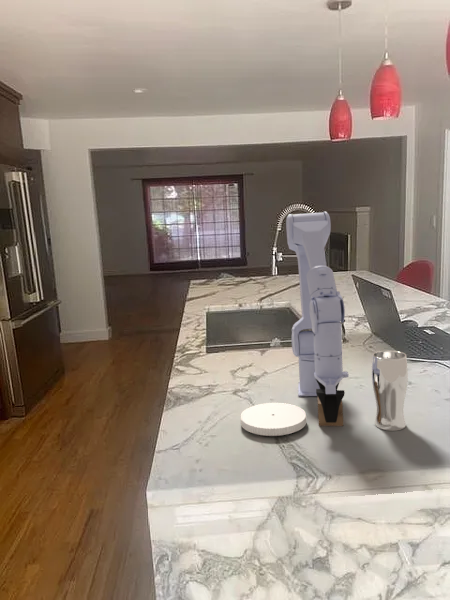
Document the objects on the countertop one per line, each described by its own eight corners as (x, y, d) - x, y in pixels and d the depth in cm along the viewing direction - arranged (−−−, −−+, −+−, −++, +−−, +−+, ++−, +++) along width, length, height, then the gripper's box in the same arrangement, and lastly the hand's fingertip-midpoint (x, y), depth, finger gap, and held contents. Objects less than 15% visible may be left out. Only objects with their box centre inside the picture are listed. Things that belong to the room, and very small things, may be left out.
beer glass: (400, 416, 106) (399, 348, 104) (413, 430, 99) (413, 358, 97) (368, 419, 106) (366, 351, 104) (379, 433, 99) (378, 360, 97)
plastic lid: (227, 427, 108) (227, 416, 107) (273, 408, 116) (272, 397, 116) (274, 447, 97) (273, 435, 97) (320, 424, 106) (319, 413, 105)
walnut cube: (318, 416, 109) (317, 394, 109) (341, 416, 109) (340, 394, 108) (318, 426, 105) (318, 403, 104) (343, 426, 104) (342, 403, 103)
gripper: (350, 363, 96) (352, 428, 99) (344, 343, 111) (346, 401, 113) (313, 363, 98) (316, 428, 100) (312, 344, 112) (314, 401, 114)
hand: (330, 414), depth 106 cm, fingers open, 7 cm apart
